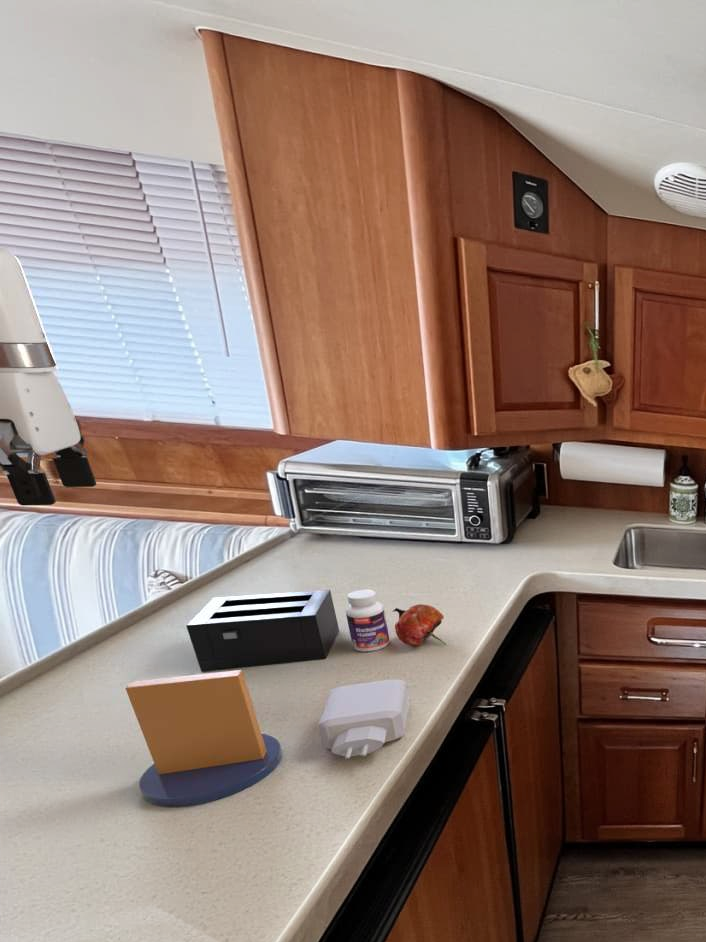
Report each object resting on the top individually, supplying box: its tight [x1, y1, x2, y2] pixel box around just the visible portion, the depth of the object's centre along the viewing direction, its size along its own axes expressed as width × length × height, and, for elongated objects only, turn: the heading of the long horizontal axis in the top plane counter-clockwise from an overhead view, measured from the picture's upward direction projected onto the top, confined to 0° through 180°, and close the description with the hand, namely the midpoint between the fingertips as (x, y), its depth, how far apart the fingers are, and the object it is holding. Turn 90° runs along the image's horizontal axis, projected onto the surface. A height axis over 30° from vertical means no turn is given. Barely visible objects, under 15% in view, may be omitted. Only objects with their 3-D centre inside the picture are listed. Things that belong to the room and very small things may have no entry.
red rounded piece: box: [392, 603, 447, 647], centre depth 111 cm, size 7×7×10 cm
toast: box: [125, 669, 267, 774], centre depth 76 cm, size 10×2×12 cm, turn 114°
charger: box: [317, 678, 410, 760], centre depth 85 cm, size 5×9×15 cm
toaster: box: [186, 589, 340, 673], centre depth 104 cm, size 16×12×8 cm
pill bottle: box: [345, 589, 390, 653], centre depth 108 cm, size 5×5×10 cm
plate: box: [138, 732, 283, 808], centre depth 78 cm, size 13×13×1 cm
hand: (60, 495), depth 84 cm, fingers open, 9 cm apart
